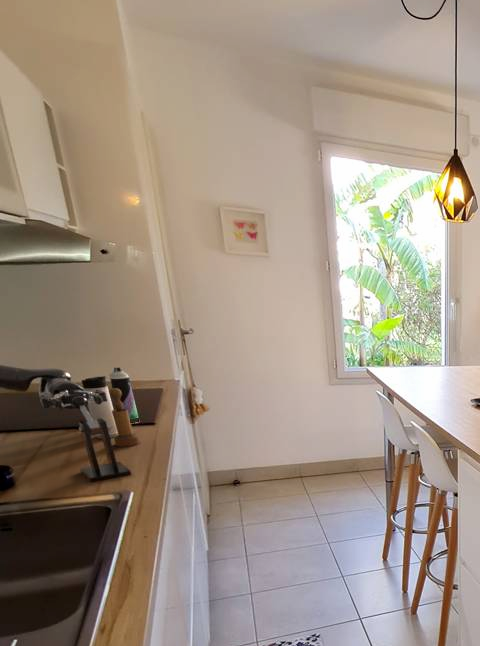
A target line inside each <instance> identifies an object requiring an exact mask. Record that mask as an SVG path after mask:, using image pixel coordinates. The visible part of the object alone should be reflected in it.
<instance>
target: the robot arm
mask: <svg viewBox="0 0 480 646" xmlns="http://www.w3.org/2000/svg"><path fill="white" fill-rule="evenodd" d="M39 378H40V379H39ZM36 379H39V380H40V381H39V388H38V395H39V399H40V403H41V406H42V407H43V408H44V409H49V408H50V407H52V408H55V409H56V408H57V409H59V410H60V409H61V410H62V409H68V410H74V409H76V408H74V407H73V406H72V403H71V401H72V399H73V398H74V397H77V396H81V397H84V398H86V399H87V401H88V404H92V403H96V404H98V405H99V404H101V403H103V401H104V402H106V401H108V400H107V397H106V393H105V392H103V391H101V390H95V391H94V393H91V392H90V391H84V389H83V387H82V386H80V385H79V384H77V383H75V382H74V381H72V375H71V374H70V372H68V371H66V370H65V369H61V368H55V367H53V368H23V367H16V366H11V365H5V364H0V390H7V391H13V392H21V393H23V392H24V393H25V392H27V391H28V390H29V388H30V386H31V384H32V382H33V381H34V380H36ZM93 397H94V400H93Z"/></svg>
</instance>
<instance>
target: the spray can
mask: <svg viewBox="0 0 480 646" xmlns="http://www.w3.org/2000/svg"><path fill="white" fill-rule="evenodd" d="M109 380H110V385H111V389H113V388H118V389H119V390H120V391H121V392H122V394H121V397H120V401H121V402H122V409H127V410H128V415H129V419H135V418H139V414H138V410H137V406H136V402H135V401H136V400H135V397H134V393H133V389H132V384H131V380H130V376H129V375H128V373H126V372H125V371H123V370H122V369H121V367H113V371H112V372H111V373H110V374H109ZM133 424H139V422H135V423H131V425H133Z"/></svg>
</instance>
